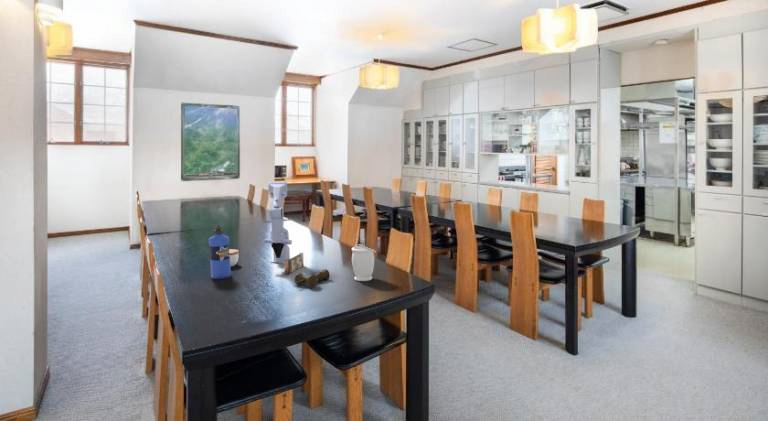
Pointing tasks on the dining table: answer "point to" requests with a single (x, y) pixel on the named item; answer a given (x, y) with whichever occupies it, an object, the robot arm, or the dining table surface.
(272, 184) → the robot arm
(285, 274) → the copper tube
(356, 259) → the jar
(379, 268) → the dining table surface
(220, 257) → the water bottle
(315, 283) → the dog chew
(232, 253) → the lidded jar
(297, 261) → the tan flat block
